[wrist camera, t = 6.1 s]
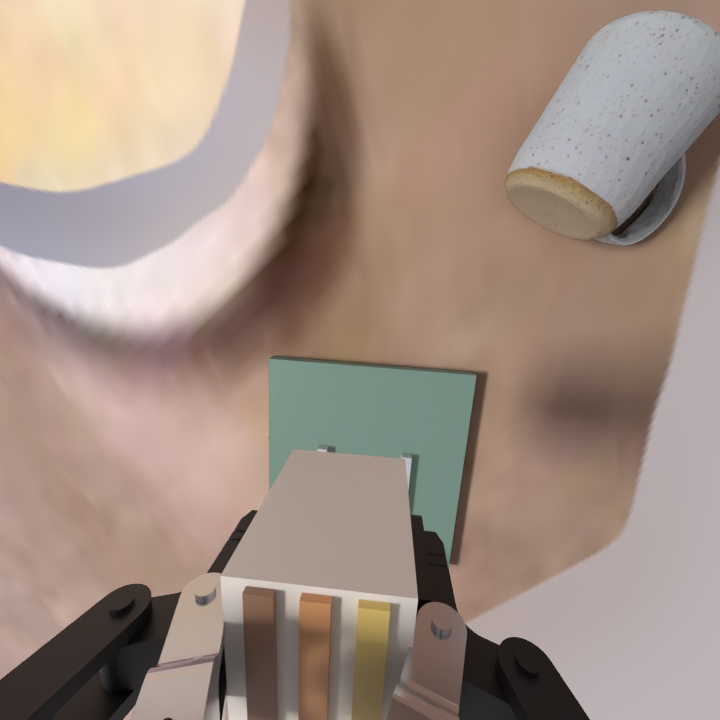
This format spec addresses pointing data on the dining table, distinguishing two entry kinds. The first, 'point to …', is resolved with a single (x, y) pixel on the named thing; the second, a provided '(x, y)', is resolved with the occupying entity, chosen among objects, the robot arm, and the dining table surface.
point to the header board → (378, 424)
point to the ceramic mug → (620, 129)
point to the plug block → (322, 592)
